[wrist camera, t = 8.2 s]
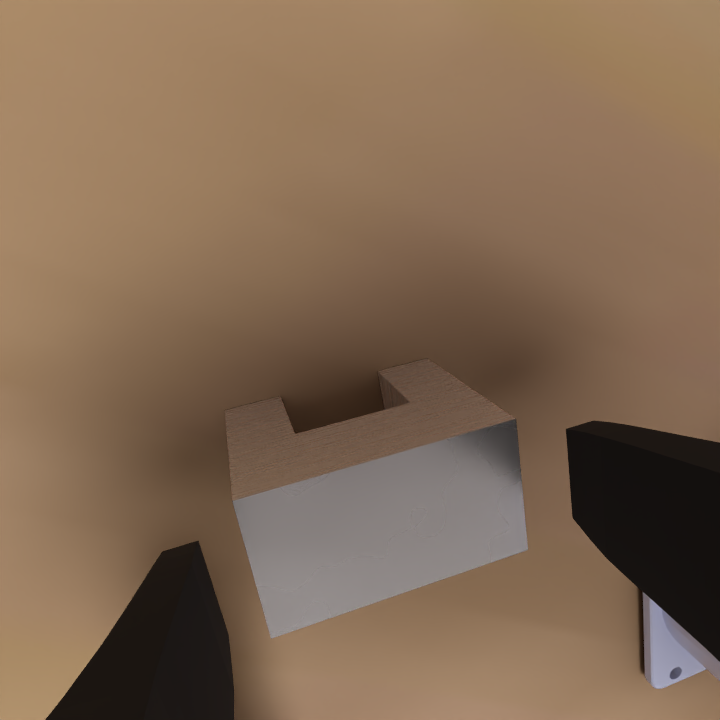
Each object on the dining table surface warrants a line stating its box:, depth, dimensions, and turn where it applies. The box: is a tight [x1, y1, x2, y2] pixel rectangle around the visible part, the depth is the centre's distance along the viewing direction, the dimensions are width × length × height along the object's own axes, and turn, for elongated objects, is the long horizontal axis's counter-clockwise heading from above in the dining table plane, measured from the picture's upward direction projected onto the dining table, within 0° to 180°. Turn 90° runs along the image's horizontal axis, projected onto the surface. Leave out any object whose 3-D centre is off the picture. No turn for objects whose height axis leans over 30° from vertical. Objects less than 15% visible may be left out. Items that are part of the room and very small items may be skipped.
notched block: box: [225, 359, 528, 638], centre depth 12 cm, size 5×3×4 cm, turn 100°
